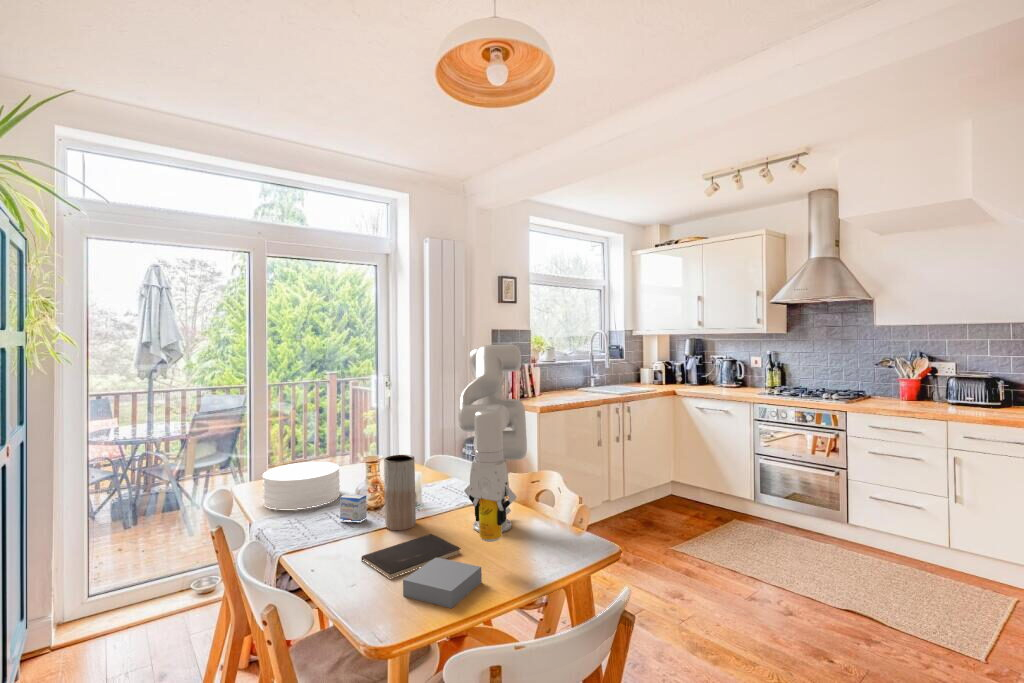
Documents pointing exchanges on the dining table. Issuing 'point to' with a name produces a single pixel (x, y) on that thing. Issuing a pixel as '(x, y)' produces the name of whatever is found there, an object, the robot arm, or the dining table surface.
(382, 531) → the dining table surface
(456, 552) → the hardcover book
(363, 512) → the medicine box
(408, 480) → the planter
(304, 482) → the plate stack
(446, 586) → the plate
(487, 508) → the beer can
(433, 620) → the dining table surface
